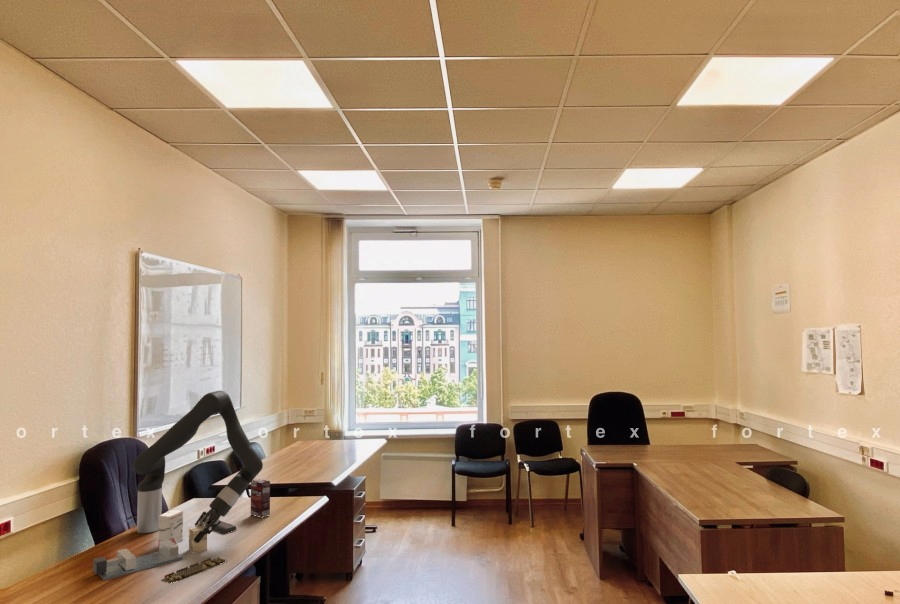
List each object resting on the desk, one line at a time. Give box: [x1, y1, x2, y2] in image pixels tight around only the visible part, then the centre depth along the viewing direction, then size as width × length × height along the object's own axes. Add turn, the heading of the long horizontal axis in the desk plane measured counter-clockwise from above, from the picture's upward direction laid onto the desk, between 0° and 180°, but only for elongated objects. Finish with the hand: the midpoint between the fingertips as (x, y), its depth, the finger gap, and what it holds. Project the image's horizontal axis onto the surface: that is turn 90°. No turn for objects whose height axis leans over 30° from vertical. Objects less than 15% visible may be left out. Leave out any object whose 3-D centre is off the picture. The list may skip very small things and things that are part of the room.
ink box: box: [158, 509, 184, 548], centre depth 218 cm, size 9×5×12 cm, turn 168°
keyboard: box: [160, 556, 227, 584], centre depth 190 cm, size 22×9×2 cm, turn 149°
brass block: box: [188, 526, 208, 554], centre depth 210 cm, size 5×5×8 cm
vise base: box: [98, 539, 184, 581], centre depth 196 cm, size 12×25×5 cm, turn 134°
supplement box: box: [250, 478, 271, 517], centre depth 253 cm, size 9×5×16 cm, turn 55°
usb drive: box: [213, 520, 237, 534], centre depth 234 cm, size 5×12×3 cm, turn 51°
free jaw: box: [92, 548, 136, 576], centre depth 191 cm, size 12×11×4 cm
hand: (193, 539), depth 209 cm, fingers closed on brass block, 5 cm apart
